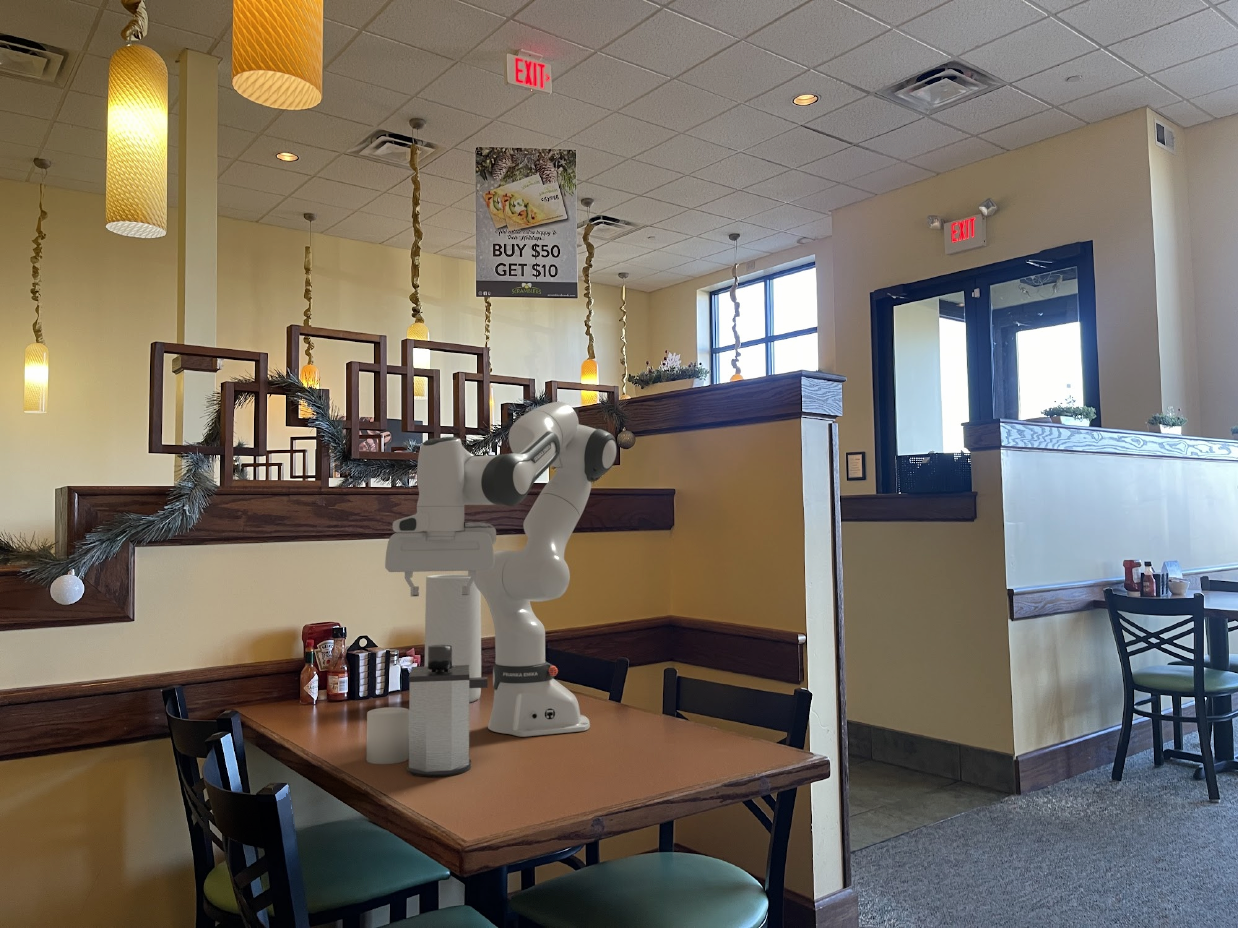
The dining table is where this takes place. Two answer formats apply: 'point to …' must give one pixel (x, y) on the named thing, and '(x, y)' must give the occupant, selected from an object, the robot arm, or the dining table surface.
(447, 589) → the vase
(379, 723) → the diner mug
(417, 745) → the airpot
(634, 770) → the dining table surface
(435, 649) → the pump plunger
